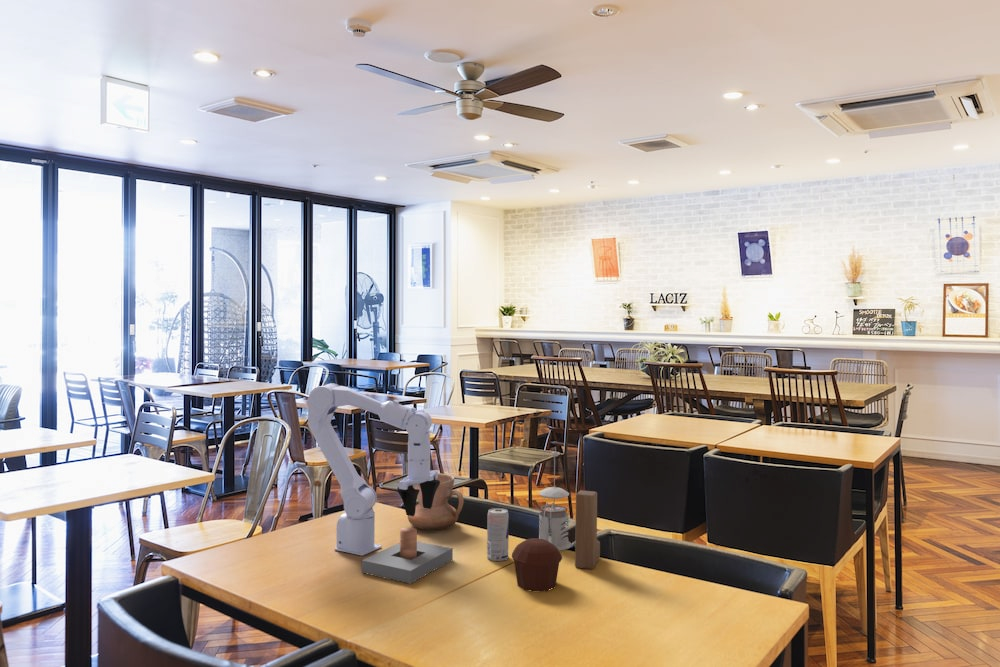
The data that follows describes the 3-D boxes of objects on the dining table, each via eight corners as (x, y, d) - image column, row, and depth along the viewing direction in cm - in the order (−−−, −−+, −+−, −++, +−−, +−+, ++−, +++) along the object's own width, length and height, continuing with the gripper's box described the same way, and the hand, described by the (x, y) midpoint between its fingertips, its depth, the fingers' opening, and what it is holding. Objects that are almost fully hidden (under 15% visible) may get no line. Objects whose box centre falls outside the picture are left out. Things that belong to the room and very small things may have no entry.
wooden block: (582, 556, 181) (583, 485, 181) (600, 558, 180) (601, 487, 180) (574, 567, 173) (575, 494, 172) (593, 570, 171) (593, 495, 171)
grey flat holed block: (361, 572, 168) (361, 560, 168) (406, 550, 184) (406, 539, 184) (410, 583, 162) (410, 570, 161) (452, 560, 177) (452, 548, 177)
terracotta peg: (396, 567, 172) (396, 530, 172) (406, 562, 175) (406, 526, 175) (410, 570, 170) (410, 533, 170) (419, 565, 174) (420, 528, 173)
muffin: (572, 584, 162) (572, 541, 162) (540, 598, 154) (541, 552, 154) (532, 571, 170) (533, 530, 170) (500, 584, 162) (501, 540, 162)
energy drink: (509, 554, 182) (509, 508, 181) (507, 562, 176) (507, 514, 176) (488, 554, 182) (488, 507, 182) (485, 561, 177) (486, 513, 177)
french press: (575, 541, 194) (576, 449, 193) (565, 554, 183) (566, 457, 182) (540, 537, 197) (541, 446, 196) (528, 550, 186) (529, 454, 185)
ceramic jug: (394, 529, 202) (394, 479, 202) (420, 516, 216) (420, 469, 215) (449, 538, 195) (450, 486, 195) (473, 524, 208) (474, 475, 208)
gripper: (415, 465, 175) (415, 520, 175) (447, 455, 187) (447, 507, 188) (392, 462, 178) (392, 516, 178) (425, 453, 191) (425, 503, 191)
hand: (419, 511), depth 183 cm, fingers open, 7 cm apart
